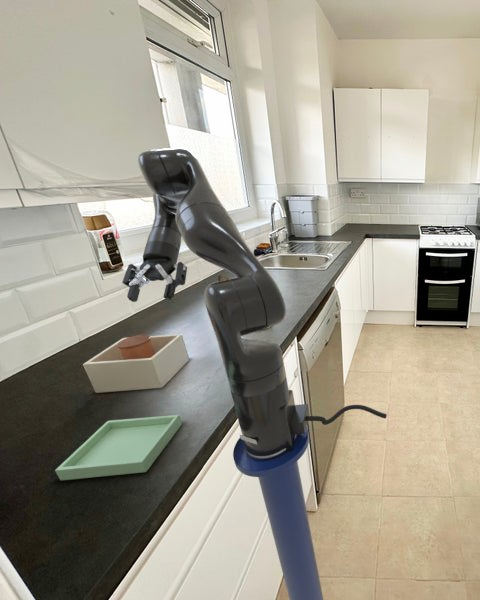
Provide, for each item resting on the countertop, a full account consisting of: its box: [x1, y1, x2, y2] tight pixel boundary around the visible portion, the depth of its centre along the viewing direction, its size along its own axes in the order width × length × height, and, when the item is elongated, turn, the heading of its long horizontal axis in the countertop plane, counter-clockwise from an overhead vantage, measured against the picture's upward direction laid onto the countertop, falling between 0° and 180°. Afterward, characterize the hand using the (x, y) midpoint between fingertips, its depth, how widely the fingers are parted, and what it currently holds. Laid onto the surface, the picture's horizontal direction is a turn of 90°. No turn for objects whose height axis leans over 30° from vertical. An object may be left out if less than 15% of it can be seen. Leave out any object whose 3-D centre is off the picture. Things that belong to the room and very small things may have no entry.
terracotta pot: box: [117, 334, 155, 360], centre depth 77 cm, size 6×6×9 cm
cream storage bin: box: [82, 333, 190, 394], centre depth 78 cm, size 15×13×8 cm
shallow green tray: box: [54, 414, 183, 481], centre depth 56 cm, size 13×11×2 cm
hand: (150, 299), depth 81 cm, fingers open, 8 cm apart
